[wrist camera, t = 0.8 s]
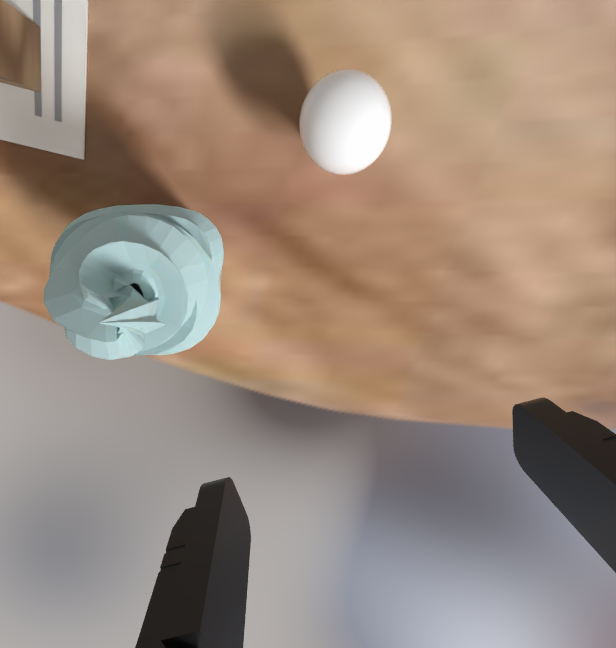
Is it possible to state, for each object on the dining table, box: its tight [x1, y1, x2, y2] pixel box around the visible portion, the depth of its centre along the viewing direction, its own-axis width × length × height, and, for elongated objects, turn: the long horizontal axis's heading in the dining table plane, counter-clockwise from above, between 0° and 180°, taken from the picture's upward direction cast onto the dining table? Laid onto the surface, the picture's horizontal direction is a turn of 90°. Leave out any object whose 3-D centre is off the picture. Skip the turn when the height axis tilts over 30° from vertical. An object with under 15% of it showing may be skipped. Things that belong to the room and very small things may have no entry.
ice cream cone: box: [44, 204, 224, 360], centre depth 24 cm, size 10×11×20 cm
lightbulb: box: [299, 69, 392, 175], centre depth 26 cm, size 6×6×11 cm
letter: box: [0, 0, 88, 160], centre depth 27 cm, size 15×11×1 cm
